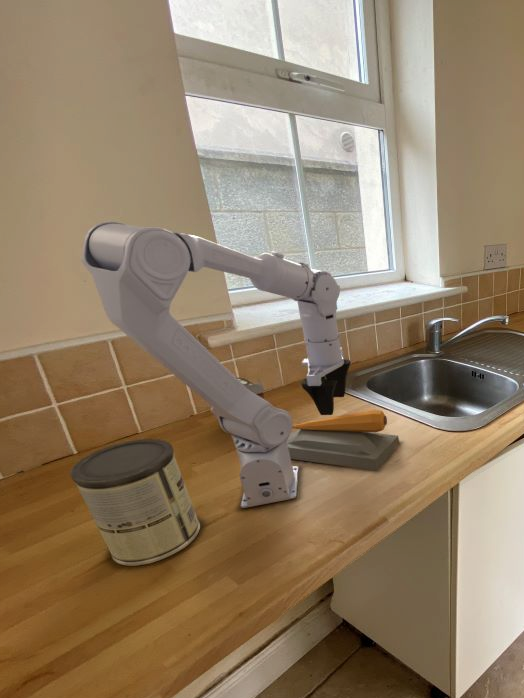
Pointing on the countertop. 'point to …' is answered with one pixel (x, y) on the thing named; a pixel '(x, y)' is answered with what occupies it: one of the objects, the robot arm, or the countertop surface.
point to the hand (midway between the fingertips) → (333, 405)
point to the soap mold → (342, 447)
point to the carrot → (348, 422)
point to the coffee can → (137, 500)
